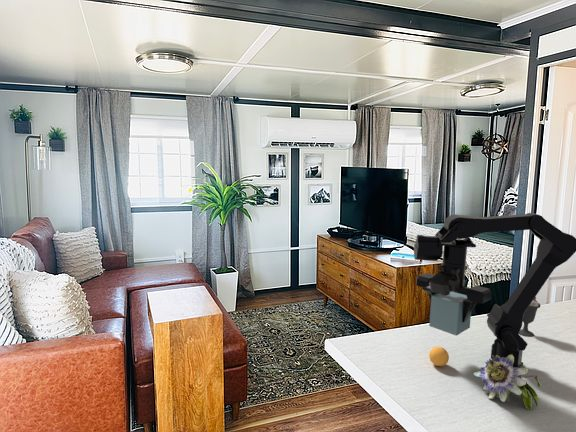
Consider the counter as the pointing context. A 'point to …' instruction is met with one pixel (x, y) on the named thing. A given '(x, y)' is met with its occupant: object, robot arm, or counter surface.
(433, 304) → the grey-blue slanted prism
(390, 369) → the counter surface
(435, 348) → the ball
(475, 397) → the counter surface
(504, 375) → the passion flower
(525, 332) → the sundae
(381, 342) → the counter surface
